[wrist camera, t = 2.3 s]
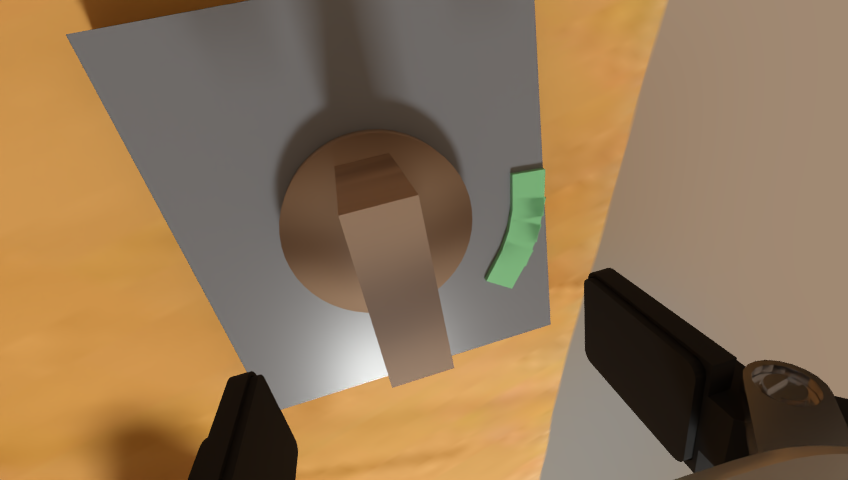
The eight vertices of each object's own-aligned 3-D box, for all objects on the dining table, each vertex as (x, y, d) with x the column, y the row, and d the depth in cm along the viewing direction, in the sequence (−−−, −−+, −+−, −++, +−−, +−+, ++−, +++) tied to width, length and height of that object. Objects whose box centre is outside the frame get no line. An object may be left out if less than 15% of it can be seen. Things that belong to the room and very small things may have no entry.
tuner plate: (95, 37, 16) (60, 34, 14) (511, -42, 18) (535, -55, 16) (273, 388, 25) (268, 417, 23) (535, 307, 27) (552, 327, 25)
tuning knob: (251, 155, 17) (205, 213, 10) (450, 109, 18) (519, 135, 11) (337, 373, 22) (342, 497, 16) (483, 328, 24) (541, 427, 17)
